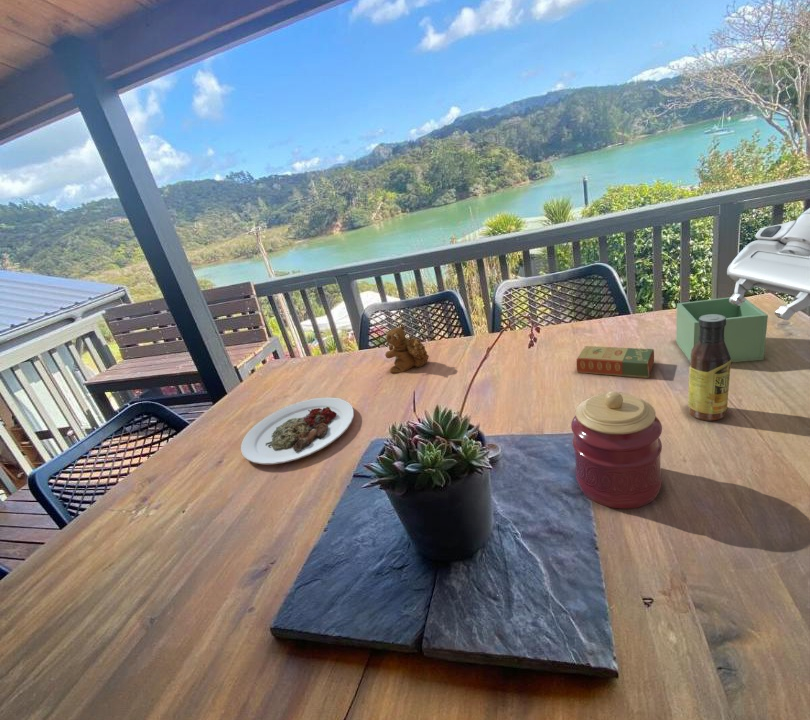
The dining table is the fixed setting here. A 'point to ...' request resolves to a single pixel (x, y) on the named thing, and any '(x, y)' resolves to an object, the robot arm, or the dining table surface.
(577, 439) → the kitchen canister
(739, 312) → the bin
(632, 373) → the carton
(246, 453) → the plated food
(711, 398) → the sauce bottle
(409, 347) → the stuffed squirrel
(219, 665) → the dining table surface
